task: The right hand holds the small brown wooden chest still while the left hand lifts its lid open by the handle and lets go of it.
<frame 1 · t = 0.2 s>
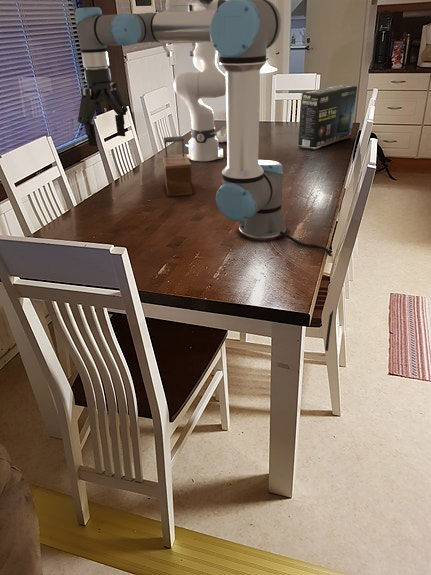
left hand: (180, 56, 178), 48 cm above the table, tool pointing down, fingers open, 8 cm apart
right hand: (107, 140, 148), 28 cm above the table, tool pointing down, fingers open, 13 cm apart
lid: (175, 151, 181), point 16 cm above the table, hinge at 0.0°
router box: (325, 143, 245), on the table
handgun: (240, 190, 185), on the table
fossil: (223, 140, 257), on the table
chest: (178, 189, 189), on the table
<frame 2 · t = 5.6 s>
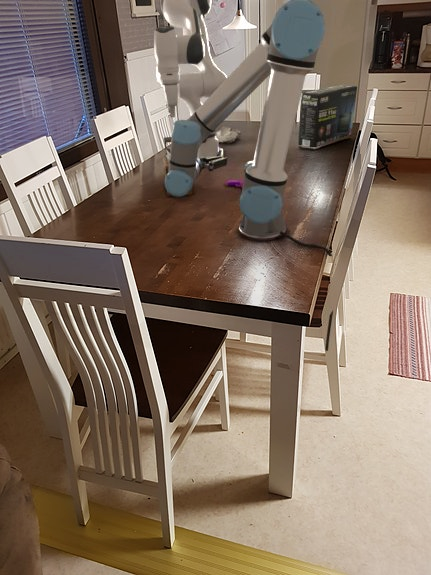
left hand: (171, 114, 179), 28 cm above the table, tool pointing down, fingers open, 8 cm apart
right hand: (200, 150, 157), 22 cm above the table, tool horizontal, fingers open, 13 cm apart
nothing on the table moved.
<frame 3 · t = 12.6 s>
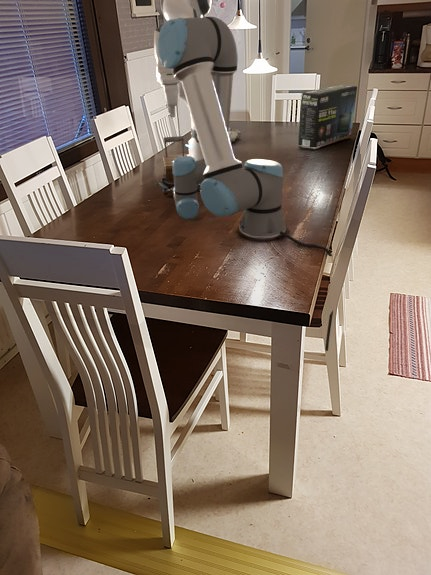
left hand: (171, 114, 179), 28 cm above the table, tool pointing down, fingers open, 8 cm apart
right hand: (178, 176, 182), 7 cm above the table, tool horizontal, fingers closed on chest, 10 cm apart
chest: (178, 189, 189), on the table, touching right hand
everything else where it was.
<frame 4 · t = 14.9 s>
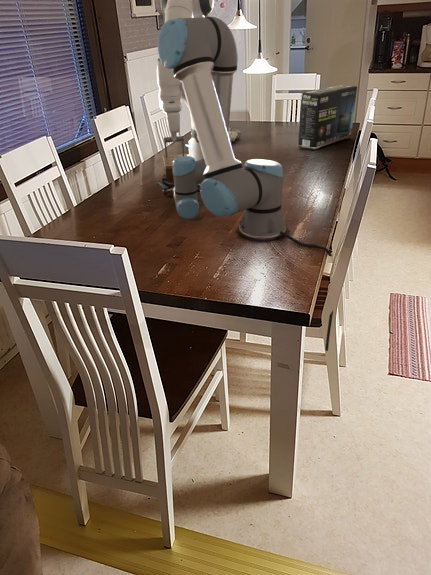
left hand: (173, 139, 184), 19 cm above the table, tool pointing down, fingers closed on lid, 2 cm apart
right hand: (178, 176, 182), 7 cm above the table, tool horizontal, fingers closed on chest, 10 cm apart
lid: (175, 151, 181), point 16 cm above the table, hinge at -0.1°, touching left hand
chest: (178, 189, 189), on the table, touching right hand
everything else where it was.
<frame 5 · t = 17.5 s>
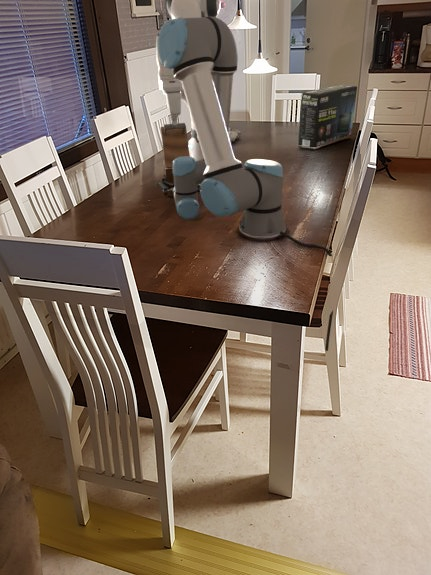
left hand: (174, 124, 169), 27 cm above the table, tool pointing down, fingers closed, pressing on lid
right hand: (178, 176, 182), 7 cm above the table, tool horizontal, fingers closed on chest, 10 cm apart
lid: (175, 142, 173), point 20 cm above the table, hinge at 56.4°, touching left hand
chest: (178, 189, 189), on the table, touching right hand
everything else where it was.
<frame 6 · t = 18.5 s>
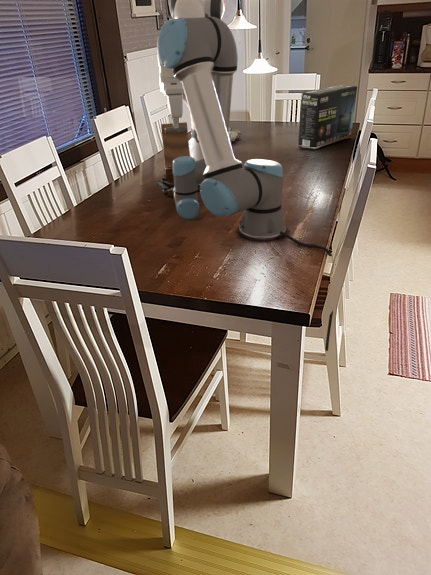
left hand: (175, 127, 166), 27 cm above the table, tool pointing down, fingers closed
right hand: (178, 176, 182), 7 cm above the table, tool horizontal, fingers closed on chest, 10 cm apart
lid: (176, 144, 171), point 20 cm above the table, hinge at 73.0°, touching left hand
chest: (178, 189, 189), on the table, touching right hand
everything else where it was.
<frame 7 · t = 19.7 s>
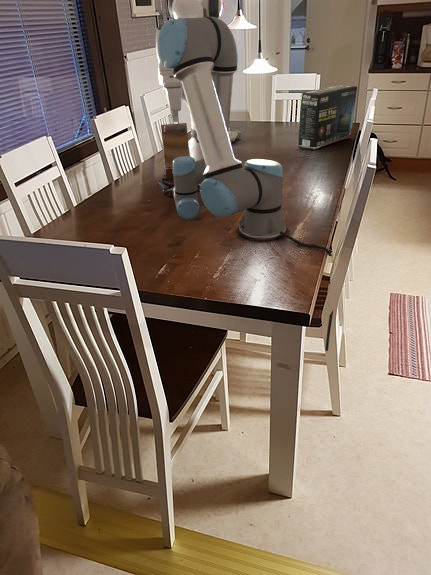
left hand: (174, 119, 166), 29 cm above the table, tool pointing down, fingers open, 5 cm apart
right hand: (178, 176, 182), 7 cm above the table, tool horizontal, fingers closed on chest, 10 cm apart
lid: (176, 143, 172), point 20 cm above the table, hinge at 66.1°
chest: (178, 189, 189), on the table, touching right hand
everything else where it was.
when the right hand's fingers open (7 cm above the table, at t = 22.6 s): chest stays where it is, on the table.
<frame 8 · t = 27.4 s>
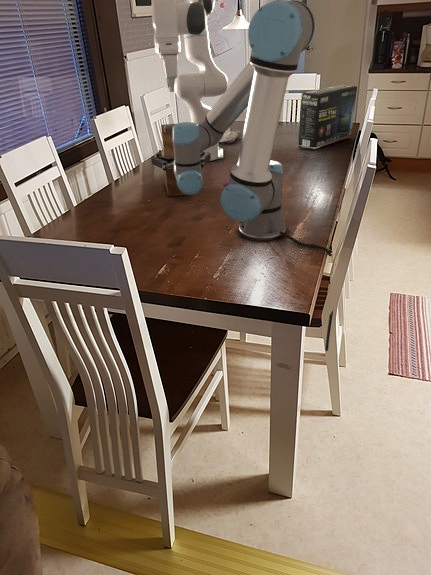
left hand: (171, 89, 167), 39 cm above the table, tool pointing down, fingers open, 8 cm apart
right hand: (179, 152, 163), 20 cm above the table, tool horizontal, fingers open, 13 cm apart
lid: (176, 143, 172), point 21 cm above the table, hinge at 65.4°
chest: (178, 189, 189), on the table
everything else where it was.
at the end: lid at +65° (first picture: +0°); the left hand is holding nothing; the right hand is holding nothing; chest tilted 0°; chest never tilted more than 1° during the clip; chest moved 0.0 cm from its start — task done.
